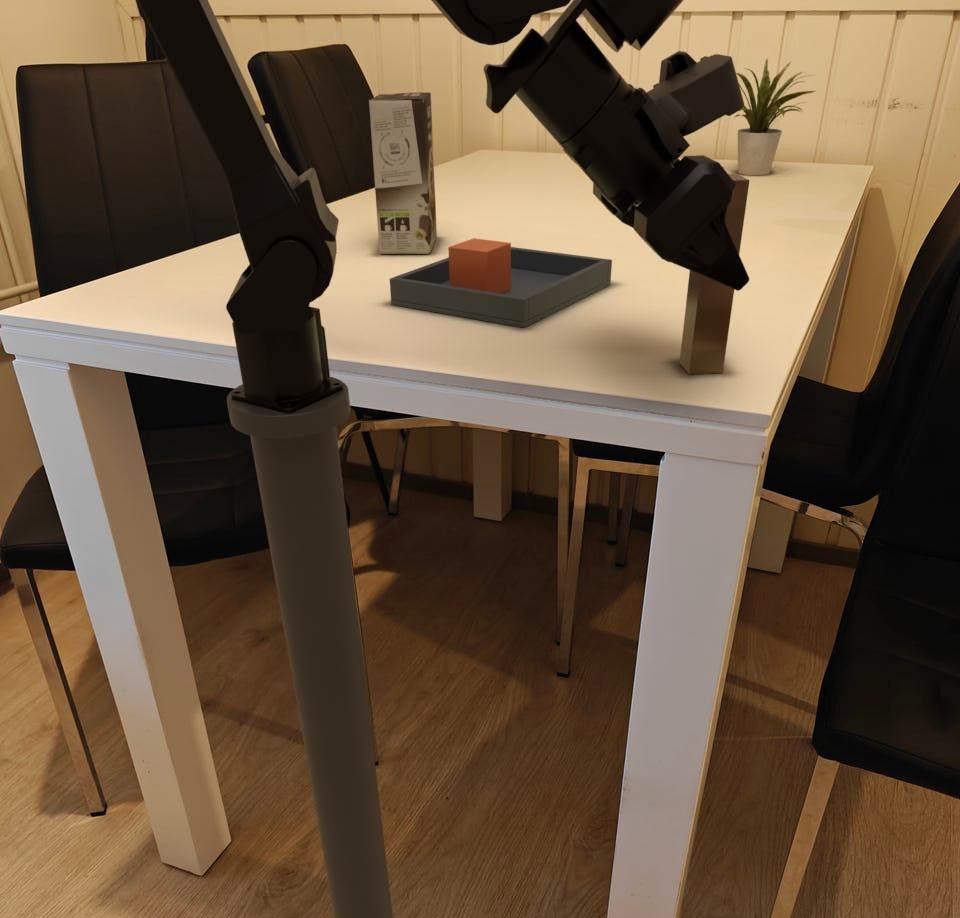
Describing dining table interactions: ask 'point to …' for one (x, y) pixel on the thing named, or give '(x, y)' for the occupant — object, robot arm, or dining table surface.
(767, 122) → the house plant
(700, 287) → the tall brown rectangular pillar
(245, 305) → the robot arm
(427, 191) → the coffee box
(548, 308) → the tray
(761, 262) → the dining table surface
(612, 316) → the dining table surface
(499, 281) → the block
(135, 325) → the dining table surface
